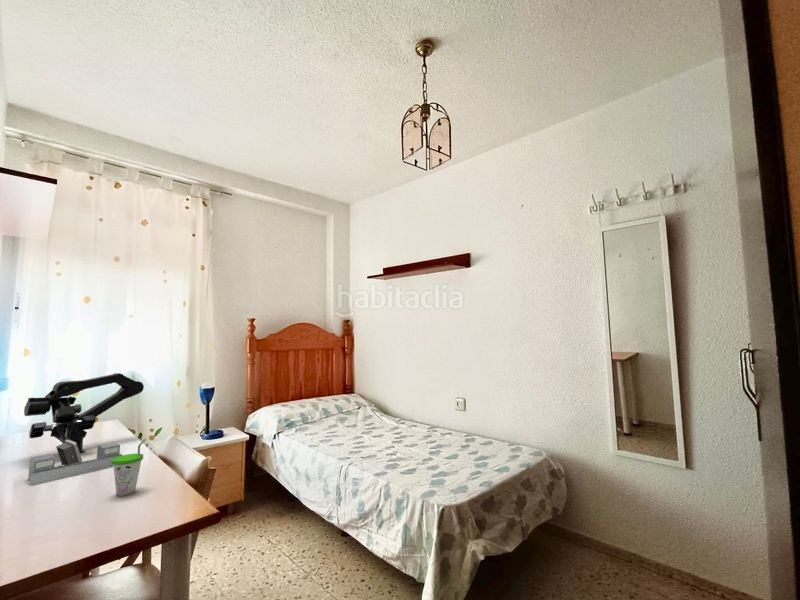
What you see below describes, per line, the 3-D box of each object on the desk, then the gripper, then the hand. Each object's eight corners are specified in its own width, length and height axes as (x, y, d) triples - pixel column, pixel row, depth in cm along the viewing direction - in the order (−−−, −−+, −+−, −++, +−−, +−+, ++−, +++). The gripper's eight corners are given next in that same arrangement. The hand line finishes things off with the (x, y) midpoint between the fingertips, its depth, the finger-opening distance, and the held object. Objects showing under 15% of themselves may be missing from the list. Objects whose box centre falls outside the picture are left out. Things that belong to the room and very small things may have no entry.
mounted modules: (28, 479, 123) (30, 457, 124) (112, 460, 141) (113, 441, 142) (32, 484, 119) (34, 461, 120) (119, 464, 137) (120, 444, 138)
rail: (29, 483, 119) (30, 472, 119) (119, 463, 138) (120, 453, 138) (31, 485, 118) (31, 474, 118) (121, 464, 136) (122, 454, 137)
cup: (103, 500, 105) (107, 446, 107) (116, 489, 113) (119, 439, 115) (135, 496, 107) (138, 443, 109) (146, 486, 115) (148, 437, 117)
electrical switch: (83, 466, 136) (82, 440, 136) (65, 472, 131) (64, 445, 131) (74, 462, 141) (73, 437, 141) (56, 467, 136) (55, 442, 136)
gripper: (33, 401, 139) (36, 436, 131) (96, 395, 153) (102, 426, 145) (27, 420, 143) (30, 455, 135) (89, 412, 157) (95, 443, 149)
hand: (66, 444), depth 141 cm, fingers closed
